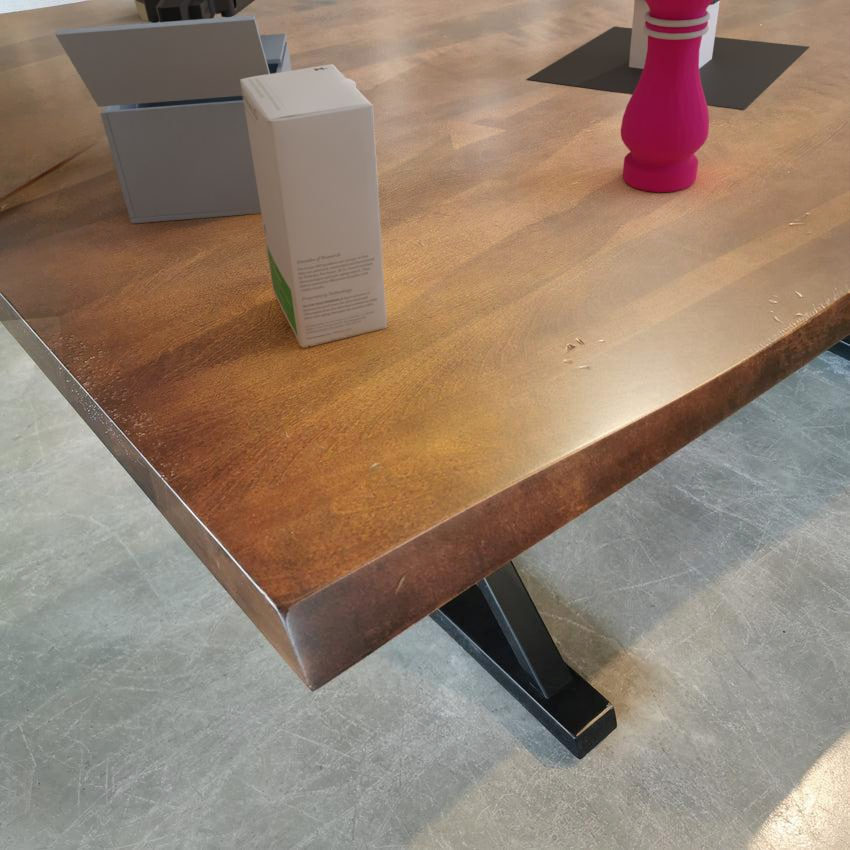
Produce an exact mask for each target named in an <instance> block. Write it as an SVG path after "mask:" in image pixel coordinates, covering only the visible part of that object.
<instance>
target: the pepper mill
mask: <svg viewBox="0 0 850 850" xmlns="http://www.w3.org/2000/svg"><path fill="white" fill-rule="evenodd" d="M712 1H713V0H645V2H646V3H647V4H648V6H649V9H650V10H649V11H648V12H646V13H645V15H644V19H645V20H646V21H645V25H644V27H643V31H644V33H645V34H647V35H648V46H647V55H646V60H645V66H644V69H643V72H642V75H641V78H640V80H639V82H638V85H637V87H636V89H635V91H634V93H633V94H631V97H630V99H629V100H628V103H627V104H626V107H625V110H624V113H623V116H622V118H621V119H622V120H621V125H620V138H621V141H622V142H623V144H624V146H625V147H626V148H627V149H628V150H629V152H628V153H626V155H625V156H624V158H623V167H622V179H623V181H624V182H625V183H626V184H627V185H628V186H630V187H633V188H634V189H637V190H640V191H646V192H651V193H672V192H677V191H683V190H685V189H687V188H690V187H691V186H692V185H693V184H694V183H695V182H696V180H697V174H698V169H699V168H698V167H699V159H698V157H697V156H696V155H695V153H696V152H698V150H700V149H701V148H702V147H703V146H704V144H705V142H707V140H708V137H709V131H710V130H709V129H710V115H709V108H708V106H709V105H707V103H706V99H705V96H704V92H703V89H702V84H701V80H700V73H699V50H700V45H701V40H702V35H704V34H706V33H707V32H708V30H709V27H708V20H709V19H710V13H709V12H708V11H706V9H707V7H708V6H709V5H710V4H711V2H712Z"/></svg>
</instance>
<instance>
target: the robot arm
mask: <svg viewBox="0 0 850 850" xmlns="http://www.w3.org/2000/svg"><path fill="white" fill-rule="evenodd" d="M136 1H138V2H140V3H143V4H144V5H145V9H146V13H147V18H148V21H147V22H148V23H158V22H172V21H185V20H198V19H211V18H215V16H216V15H220V16H221V18H225V17H236V16H237V14H239V13H240V12H241V11H243V10H244V9H245V8H247V7H248V6H250V5H251V4H252V3H253V2H255V1H256V0H136Z"/></svg>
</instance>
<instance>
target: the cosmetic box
mask: <svg viewBox="0 0 850 850" xmlns="http://www.w3.org/2000/svg"><path fill="white" fill-rule="evenodd" d="M240 83H241V89H242V95H243V101H244V107H245V113H246V120H247V126H248V132H249V139H250V145H251V151H252V158H253V164H254V171H255V177H256V184H257V190H258V196H259V202H260V208H261V213H260V214H261V220H262V226H263V233H264V239H265V246H266V252H267V253H266V254H267V259H268V265H269V271H270V272H269V273H270V278H271V284H272V291H273V292H272V293H273V294H274V297H275V299H276V301H277V302H278V304H279V305H278V306H279V307H280V310H281V311H282V313H283V315H284V317H285V319H286V321H287V323H288V325H289V326H290V328H291V331H292V333H293V335H294V337H295V339H296V341H297V343H298V345H299V347H300V346H301V347H302V348H301V347H300V348H301V349H306V348H309V347H308V346H310V347H314V346H318V345H321V344H326V343H330V342H335V341H338V340H342V339H347V338H351V337H355V336H358V335H363V334H366V333H367V334H368V333H371V332H375V331H376V332H377V331H379V330H384V329H387V328H388V320H387V319H388V318H387V307H386V292H385V277H384V265H383V264H384V259H383V243H382V227H381V213H380V197H379V182H378V181H379V180H378V164H377V163H378V162H377V148H376V131H375V130H376V129H375V116H374V105H373V103H371V101H370V100H368V98H367V97H365V95H364V94H363V93H362V92H361V91H360V90H359V89H358V88H357V83H356V82H355V80H353V79H351V78H348V77H346V76H345V75H344V74H343V73H342V72H341V71H340V70H339V69H338V68H337V67H336V66H335V65H334V64H332V63H330V64H323V65H318V66H311V67H306V68H298V69H293V70H292V71H286V72H280V73H273V74H267V75H260V76H254V77H248V78H244V79H240ZM305 347H306V348H305Z"/></svg>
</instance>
